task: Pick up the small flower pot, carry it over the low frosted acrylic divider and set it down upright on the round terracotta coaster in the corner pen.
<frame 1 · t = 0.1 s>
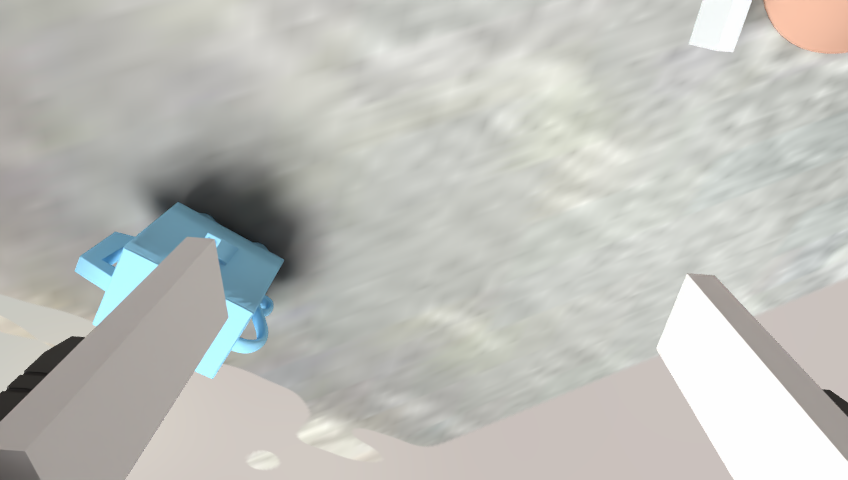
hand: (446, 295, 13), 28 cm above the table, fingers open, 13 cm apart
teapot: (216, 259, 46), on the table
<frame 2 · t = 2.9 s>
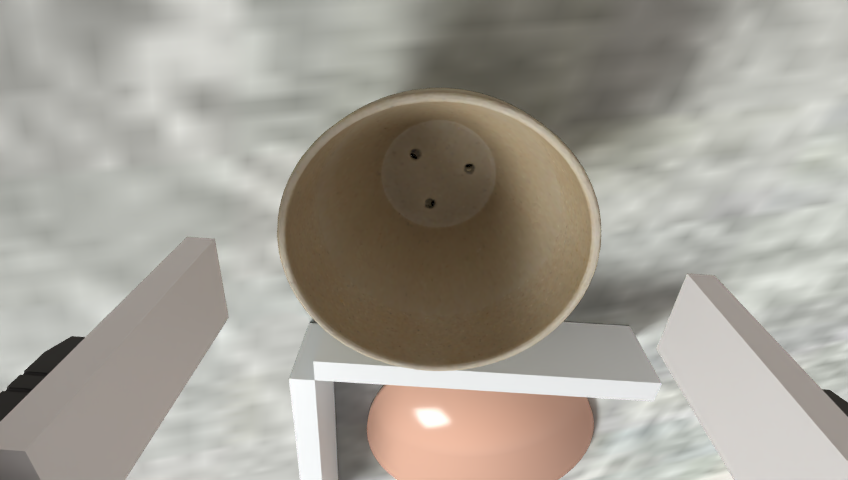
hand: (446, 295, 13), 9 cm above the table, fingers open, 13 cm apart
coaster: (478, 430, 29), on the table
flower pot: (436, 171, 21), on the table
acrylic walls: (479, 325, 25), resting in coaster
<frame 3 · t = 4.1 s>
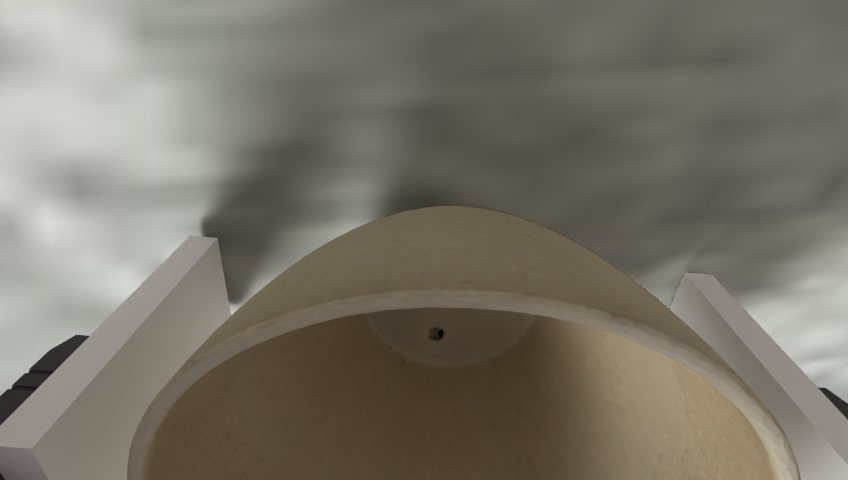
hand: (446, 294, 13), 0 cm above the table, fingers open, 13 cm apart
flower pot: (446, 285, 14), on the table
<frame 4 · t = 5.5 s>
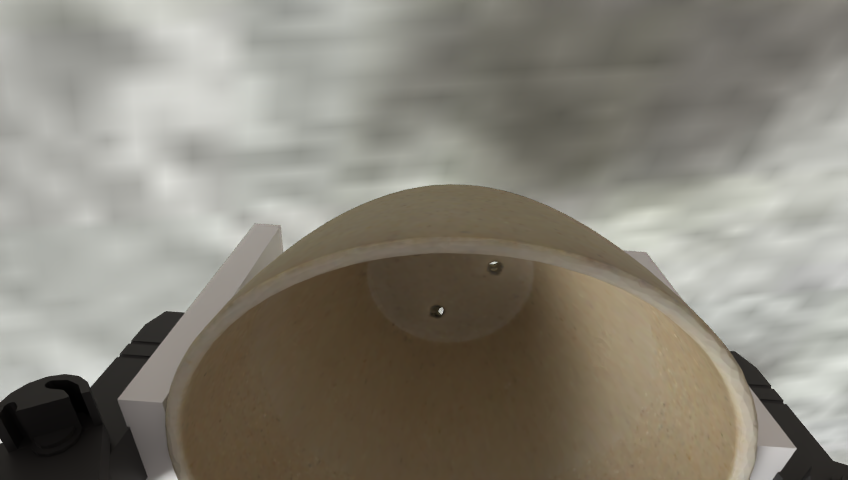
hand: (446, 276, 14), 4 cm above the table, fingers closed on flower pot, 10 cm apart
flower pot: (446, 266, 14), point 3 cm above the table, touching gripper
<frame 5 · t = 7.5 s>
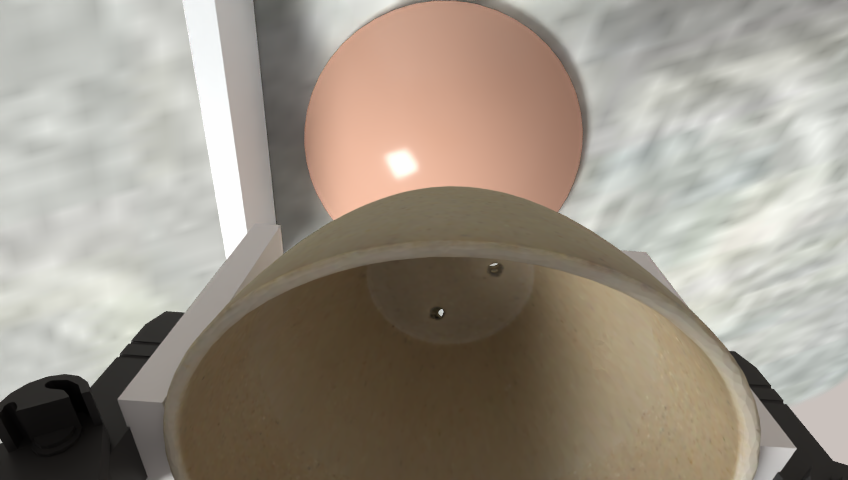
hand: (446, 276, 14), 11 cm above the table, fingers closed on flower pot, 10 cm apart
coaster: (442, 153, 24), on the table
flower pot: (446, 267, 14), point 11 cm above the table, touching gripper
when the fingers open (2 cm above the table, at t = 9.4 s): flower pot stays where it is, resting on coaster.
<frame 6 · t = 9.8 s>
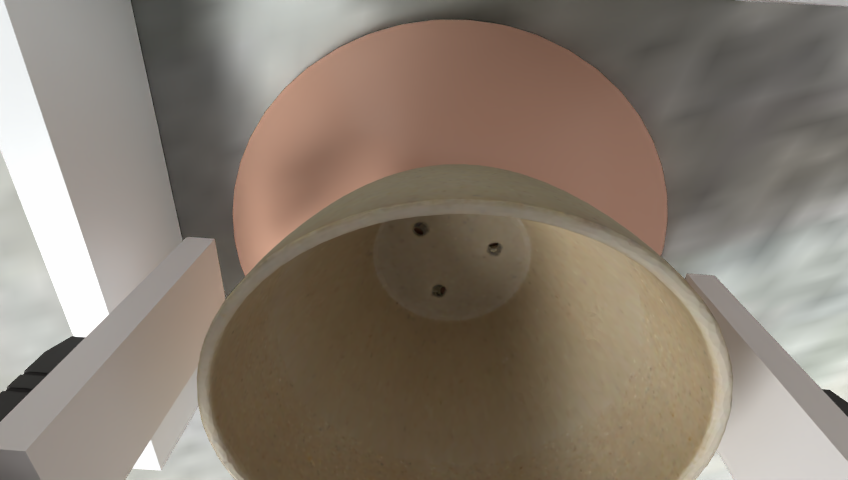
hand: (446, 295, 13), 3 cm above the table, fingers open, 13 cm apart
coaster: (445, 248, 16), on the table
flower pot: (448, 247, 15), resting on coaster
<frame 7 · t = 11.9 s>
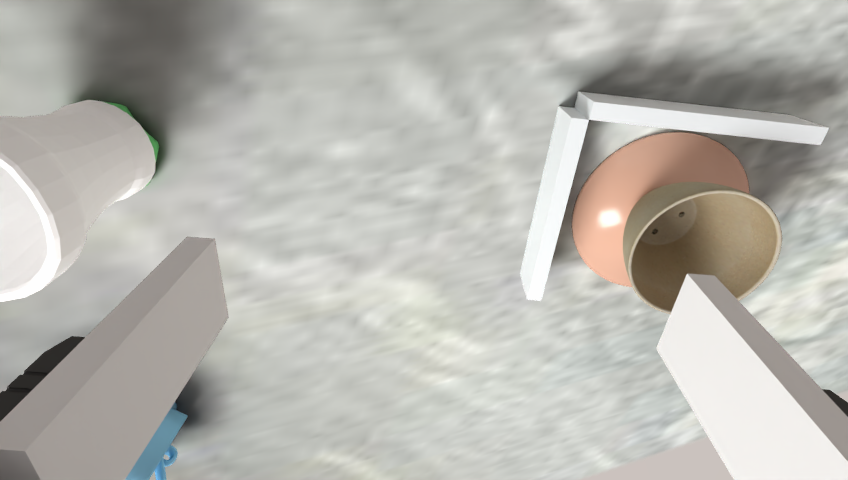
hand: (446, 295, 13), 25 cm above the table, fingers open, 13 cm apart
coaster: (656, 214, 39), on the table
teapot: (130, 407, 52), on the table
flower pot: (659, 214, 38), resting on coaster
cup 2: (118, 144, 38), on the table
acrylic walls: (681, 111, 35), resting in coaster
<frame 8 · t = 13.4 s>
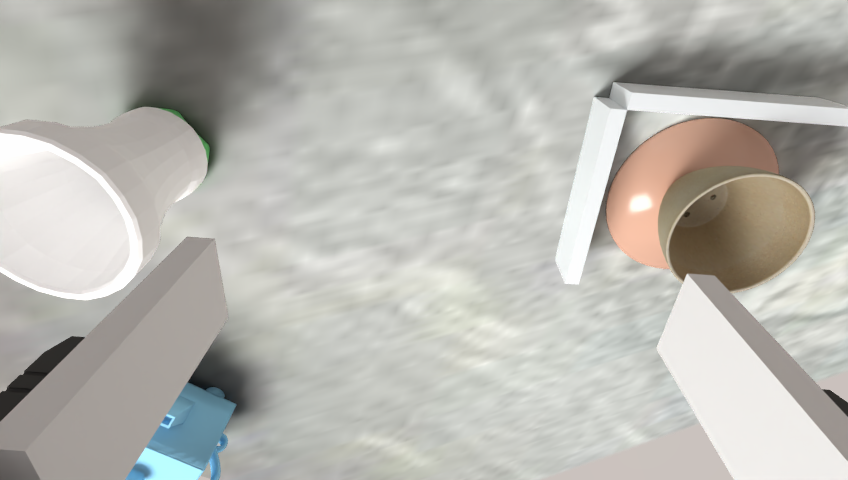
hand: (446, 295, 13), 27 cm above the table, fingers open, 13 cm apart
coaster: (688, 198, 40), on the table
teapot: (180, 398, 55), on the table
flower pot: (691, 197, 40), resting on coaster
cup 2: (170, 148, 40), on the table
acrylic walls: (713, 97, 36), resting in coaster
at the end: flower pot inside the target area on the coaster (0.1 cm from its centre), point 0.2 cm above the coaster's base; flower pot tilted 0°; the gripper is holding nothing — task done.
